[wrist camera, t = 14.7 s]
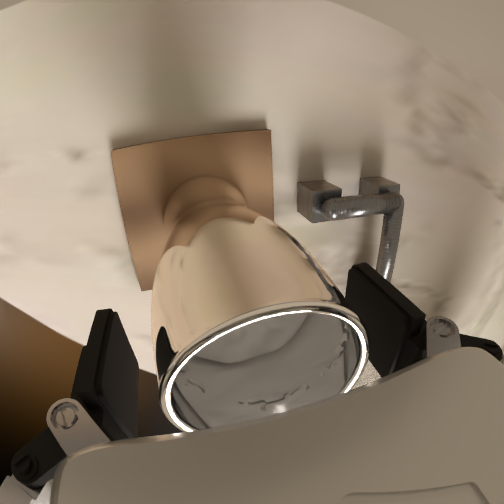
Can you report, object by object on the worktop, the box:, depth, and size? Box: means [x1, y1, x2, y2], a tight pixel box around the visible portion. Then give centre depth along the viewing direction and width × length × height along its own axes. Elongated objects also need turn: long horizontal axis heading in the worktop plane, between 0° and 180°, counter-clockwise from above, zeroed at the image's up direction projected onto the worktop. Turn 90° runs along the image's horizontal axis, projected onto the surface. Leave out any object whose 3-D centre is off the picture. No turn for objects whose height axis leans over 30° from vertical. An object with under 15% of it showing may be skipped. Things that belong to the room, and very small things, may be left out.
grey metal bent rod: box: [298, 177, 404, 282], centre depth 24 cm, size 12×8×4 cm
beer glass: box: [151, 176, 370, 432], centre depth 14 cm, size 7×7×15 cm
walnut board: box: [111, 129, 274, 291], centre depth 21 cm, size 11×11×1 cm
